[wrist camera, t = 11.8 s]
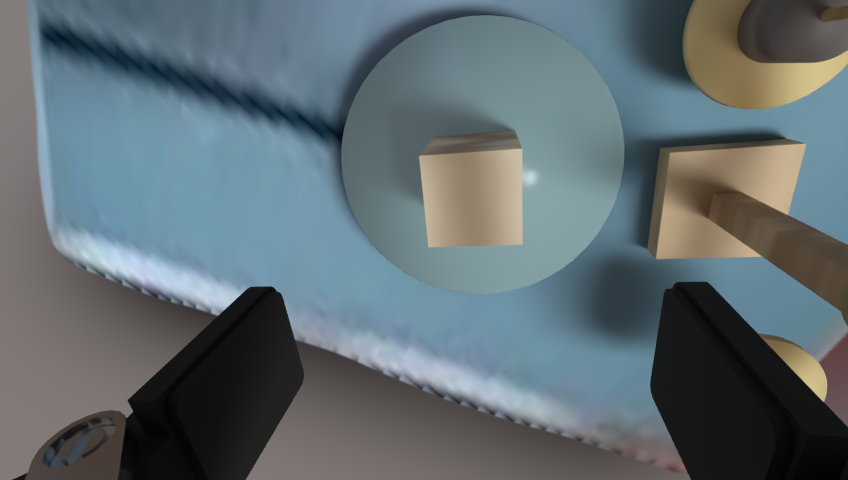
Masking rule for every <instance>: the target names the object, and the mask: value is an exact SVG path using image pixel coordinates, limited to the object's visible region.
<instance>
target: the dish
mask: <svg viewBox="0 0 848 480" xmlns="http://www.w3.org/2000/svg"><path fill="white" fill-rule="evenodd" d="M512 130H515V132H516V134H517V137H518V139H519V142H520V144H521V147H522V218H523V245H493V246H459V247H428V238H427V228H426V219H425V209H424V199H423V190H422V180H421V170H420V160H419V155H420V154H421V153H422V151H423V150H424V149H425V148H426V146H427V145H428V144H429V142H430V141H431V140H432V139H433V137H435V136H448V135H461V134H473V133H486V132H499V131H512ZM341 167H342V176H343V183H344V187H345V191H346V195H347V199H348V202H349V204H350V207H351V209H352V212H353V214H354V216H355V218H356V220H357V222H358V224H359V226H360V228H361V229H362V231H363V232H364V234H365V235H366V236H367V238H368V239H369V241H370V242H371V243H372V244H373V245H374V247H375V248H376V249H377V250H378V251H379V252H380V253H381V254H382V255H383V256H384V257H385V258H386V259H387V260H389V261H390V262H391V263H392V264H393V265H395V266H396V267H397V268H399V269H400V270H402V271H403V272H405V273H406V274H408V275H410V276H412V277H413V278H415V279H417V280H419V281H421V282H424V283H426V284H429V285H431V286H434V287H437V288H441V289H444V290H448V291H453V292H459V293H466V294H492V293H501V292H506V291H512V290H516V289H519V288H523V287H526V286H529V285H532V284H534V283H536V282H539V281H541V280H543V279H546V278H547V277H549V276H551V275H552V274H554V273H556V272H558V271H559V270H561V269H562V268H564V267H565V266H566V265H568V264H569V263H570V262H572V261H573V260H574V259H575V258H576V257H577V256H578V255H579V254H580V253H581V252H583V251H584V250H585V249H586V248H587V247H588V245H589V244H590V243H591V242H592V240H593V239H594V238H595V237H596V236H597V234H598V233H599V231H600V230H601V228H602V227H603V225H604V223H605V222H606V220H607V219H608V217H609V214H610V212H611V210H612V208H613V206H614V203H615V201H616V198H617V195H618V191H619V188H620V185H621V180H622V174H623V168H624V137H623V129H622V123H621V120H620V116H619V112H618V109H617V105H616V103H615V101H614V99H613V96H612V94H611V92H610V90H609V87H608V86H607V84H606V83H605V81H604V80H603V78H602V76H601V75H600V73H599V72H598V70H597V69H596V68H595V67H594V66H593V64H592V63H591V62H590V61H589V60H588V59H587V58H586V57H585V55H584V54H583V53H581V52H580V51H579V50H578V49H577V48H575V47H574V46H573V45H572V44H571V43H569V42H568V41H567V40H565V39H563V38H562V37H560V36H558V35H557V34H555V33H553V32H552V31H550V30H548V29H546V28H543V27H541V26H538V25H536V24H533V23H531V22H528V21H524V20H519V19H515V18H511V17H504V16H492V15H481V16H466V17H461V18H456V19H452V20H447V21H444V22H441V23H438V24H435V25H433V26H430V27H427V28H425V29H423V30H421V31H419V32H418V33H416V34H414V35H412V36H410V37H408V38H407V39H405V40H404V41H403V42H401V43H400V44H399V45H397V46H396V47H395V48H393V49H392V50H391V51H390V52H389V53H388V54H387V55H386V56H385V57H384V58H383V59H382V60H380V61H379V62H378V63H377V65H376V66H375V67H374V68H373V70H372V71H371V72H370V74H369V75H368V76H367V77H366V79H365V80H364V82H363V84H362V86H361V87H360V89H359V91H358V92H357V94H356V96H355V98H354V101H353V103H352V106H351V108H350V110H349V113H348V116H347V120H346V124H345V128H344V132H343V140H342V147H341Z"/></svg>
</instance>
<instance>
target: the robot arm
mask: <svg viewBox="0 0 848 480" xmlns="http://www.w3.org/2000/svg"><path fill="white" fill-rule="evenodd" d="M303 378H304V371H303V367H302V364H301V360H300V357H299V353H298V350H297V346H296V343H295V339H294V336H293V332H292V328H291V325H290V321H289V318H288V314H287V311H286V307H285V304H284V300H283V297H282V295H281V293H279V292H277V291H276V290H275V288H273V287H250V288H248V289H247V290H246V291H245V292H244V293H242V294H241V295H240V296H239V297H238V298H237V299H236V300H235V301H234V302H233V303H232V304H231V305H230V306H228V307H227V308H226V309H225V310H224V311H223V312H222V313H221V314H220V315H219V316H218V317H217V318H216V319H214V320H213V321H212V322H211V324H209V325H208V326H207V327H206V328H205V329H204V330H203V331H202V332H200V333H199V334H198V335H197V336H196V337H195V338H194V339H193V340H192V341H191V342H190V343H189V344H188V345H187V346H186V347H184V348H183V349H182V350H181V351H180V352H179V353H178V354H177V355H176V356H175V357H174V358H172V360H170V361H169V362H168V363H167V364H166V365H165V366H164V367H163V368H162V369H161V370H160V371H159V372H157V373H156V374H155V375H154V376H153V377H152V378H151V379H150V380H149V381H148V382H147V383H146V384H145V385H143V386H142V387H141V388H140V389H139V390H138V391H137V392H136V393H135V394H134V395H133V396H132V397H131V398H130V399H128V402H129V404H130V406H131V408H132V410H133V413H132V414H131V415H130V416H129V417H128V418H127V419H126V417H125V415H124V414H122V413H121V412H120V411H113V410H109V411H102V412H98V413H95V414H91V415H89V416H86V417H84V418H82V419H80V420H77V421H75V422H73V423H71V424H70V425H68V426H67V427H65V428H63V429H62V430H60V431H59V432H58V433H56V434H55V435H54V436H52V437H51V438H50V439H49V440H48V441H47V442H46V443H45V444H44V445H43V446H42V447H41V448H40V449H39V450H38V452H37V453H36V455H35V457H34V458H33V460H32V462H31V465H30V468H29V471H28V473H26V474H24V475H22V476H20V477H18V478H16V479H13V480H246V478H247V476H248V475H249V473H250V471H251V470H252V468H253V466H254V465H255V463H256V461H257V460H258V458H259V456H260V454H261V453H262V451H263V449H264V448H265V446H266V444H267V443H268V441H269V439H270V437H271V436H272V434H273V433H274V431H275V429H276V427H277V426H278V424H279V422H280V420H281V419H282V417H283V416H284V414H285V412H286V411H287V409H288V407H289V405H290V404H291V402H292V400H293V398H294V397H295V395H296V394H297V392H298V390H299V389H300V387H301V385H302V383H303ZM650 387H651V393H652V397H653V400H654V402H655V404H656V406H657V408H658V410H659V412H660V414H661V417H662V419H663V421H664V423H665V425H666V427H667V429H668V431H669V434H670V436H671V438H672V440H673V442H674V444H675V446H676V449H677V451H678V453H679V455H680V457H681V459H682V461H683V463H684V466H685V468H686V470H687V472H688V474H689V476H690V478H691V480H848V427H847V426H846V425H845V424H844V423H843V422H842V421H841V420H840V419H839V418H838V417H837V415H835V414H834V412H833V411H832V410H831V409H830V408H829V407H828V406H827V405H826V404H825V403H824V402H823V401H822V400H821V399H820V398H819V397H818V396H817V395H816V394H815V393H814V392H813V391H812V390H811V388H810V387H809V386H808V385H807V384H806V383H805V382H804V381H803V380H802V379H801V378H800V377H799V376H798V375H797V374H796V373H795V372H794V371H793V370H792V369H791V368H790V367H789V366H788V365H787V364H786V363H785V362H784V360H783V359H782V358H781V357H780V356H779V355H778V354H777V353H776V352H775V351H774V350H773V349H772V348H771V347H770V346H769V345H768V344H767V343H766V342H765V341H764V340H763V339H762V338H761V337H760V336H759V335H758V334H757V332H756V331H755V330H754V329H753V328H752V327H751V326H750V325H749V324H748V323H747V322H746V321H745V320H744V319H743V318H742V317H741V316H740V315H739V314H738V313H737V312H736V311H735V310H734V309H733V308H732V307H731V306H730V304H729V303H728V302H727V301H726V300H725V299H724V298H723V297H722V296H721V295H720V294H719V293H718V292H717V291H716V290H715V289H714V288H713V287H712V286H711V285H710V284H709V283H708V282H676V283H675V284H674V286H673V289H666V290H665V292H664V297H663V303H662V310H661V316H660V323H659V329H658V336H657V342H656V349H655V355H654V362H653V368H652V375H651V382H650Z"/></svg>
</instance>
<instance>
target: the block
mask: <svg viewBox="0 0 848 480" xmlns="http://www.w3.org/2000/svg"><path fill="white" fill-rule="evenodd" d="M419 160H420V170H421V180H422V190H423V199H424V209H425V219H426V228H427V238H428V247H459V246H493V245H523V218H522V147H521V144H520V142H519V139H518V137H517V134H516V132H515V130H512V131H499V132H486V133H473V134H461V135H448V136H435V137H433V139H432V140H431V141H430V142H429V144H428V145H427V146H426V148H425V149H424V150H423V151H422V153H421V154H420V155H419Z"/></svg>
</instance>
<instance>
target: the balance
mask: <svg viewBox="0 0 848 480" xmlns="http://www.w3.org/2000/svg"><path fill="white" fill-rule="evenodd" d="M682 47H683V58H684V62H685V66H686V69H687V72H688V74H689V76H690V78H691V80H692V81H693V83H694V84H695V85H696V87H697V88H698V89H699V90H700V91H701V92H702V93H703V94H704V95H706V96H707V97H709V98H710V99H712V100H713V101H715V102H718V103H720V104H723V105H726V106H730V107H735V108H742V109H766V108H773V107H777V106H781V105H785V104H788V103H790V102H793V101H796V100H798V99H800V98H802V97H804V96H806V95H808V94H810V93H812V92H813V91H815V90H817V89H818V88H820V87H821V86H823V85H824V84H825V83H827V82H828V81H829V80H831V79H832V78H833V77H834V76H835V75H836V74H838V73H839V72H840V71H841V70H842V69H843V68H844V67H845V66H846V65H847V64H848V0H694V1H693V3H692V5H691V7H690V10H689V13H688V16H687V19H686V22H685V27H684V32H683V43H682ZM806 144H807V143H802V142H798V141H794V140H790V139H777V140H763V141H749V142H735V143H721V144H706V145H692V146H678V147H664V148H660V149H659V157H658V166H657V174H656V182H655V190H654V198H653V206H652V214H651V223H650V231H649V239H648V247H647V249H648V251H649V252H650V253H651V254H652V255H653V256H654V258H655V259H685V258H724V257H764V258H765V259H767V260H768V261H770V262H771V263H772V264H774V265H775V266H777V267H778V268H780V269H781V270H782V271H784V272H785V273H787V274H788V275H790V276H791V277H792V278H794V279H795V280H797V281H798V282H800V283H801V284H803V285H804V286H805V287H807V288H808V289H810V290H811V291H813V292H814V293H815V294H817V295H818V296H820V297H821V298H823V299H824V300H825V301H827V302H828V303H830V304H831V305H833V306H834V307H836V308H837V309H838V310H840V311H841V312H842V316H843V318H844V320H845V322H846V324H847V326H848V245H847V244H845V243H843V242H841V241H839V240H837V239H835V238H833V237H831V236H829V235H827V234H825V233H823V232H821V231H819V230H817V229H815V228H813V227H811V226H809V225H807V224H805V223H803V222H800V221H798V220H796V219H794V218H792V217H790V216H788V212H789V209H790V205H791V201H792V197H793V193H794V190H795V186H796V182H797V178H798V174H799V170H800V167H801V163H802V159H803V155H804V151H805V147H806ZM758 335H759V336H760V337H761V338H762V339H763V340H764V341H765V342H766V343H767V344H768V345H769V346H770V347H771V348H772V349H773V350H774V351H775V352H776V353H777V354H778V355H779V356H780V357H781V358H782V359H783V360H784V362H785V363H786V364H787V365H788V366H789V367H790V368H791V369H792V370H793V371H794V372H795V373H796V374H797V375H798V376H799V377H800V378H801V379H802V380H803V381H804V382H805V383H806V384H807V385H808V386H809V387H810V388H811V390H812V391H813V392H814V393H815V394H816V395H817V396H818V397H819V398H820V399H821V400H822V401H823V402H824V400H825V397H826V393H827V380H826V376H825V373H824V371H823V369H822V368H821V366H820V364H819V363H818V362H817V361H816V360H815V359H814V358H813V357H812V356H811V355H810V354H809V353H807V352H806V351H805V350H804V349H803V348H801V347H800V346H798V345H797V344H795V343H793V342H791V341H789V340H786V339H784V338H780V337H777V336H772V335H766V334H758Z"/></svg>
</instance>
